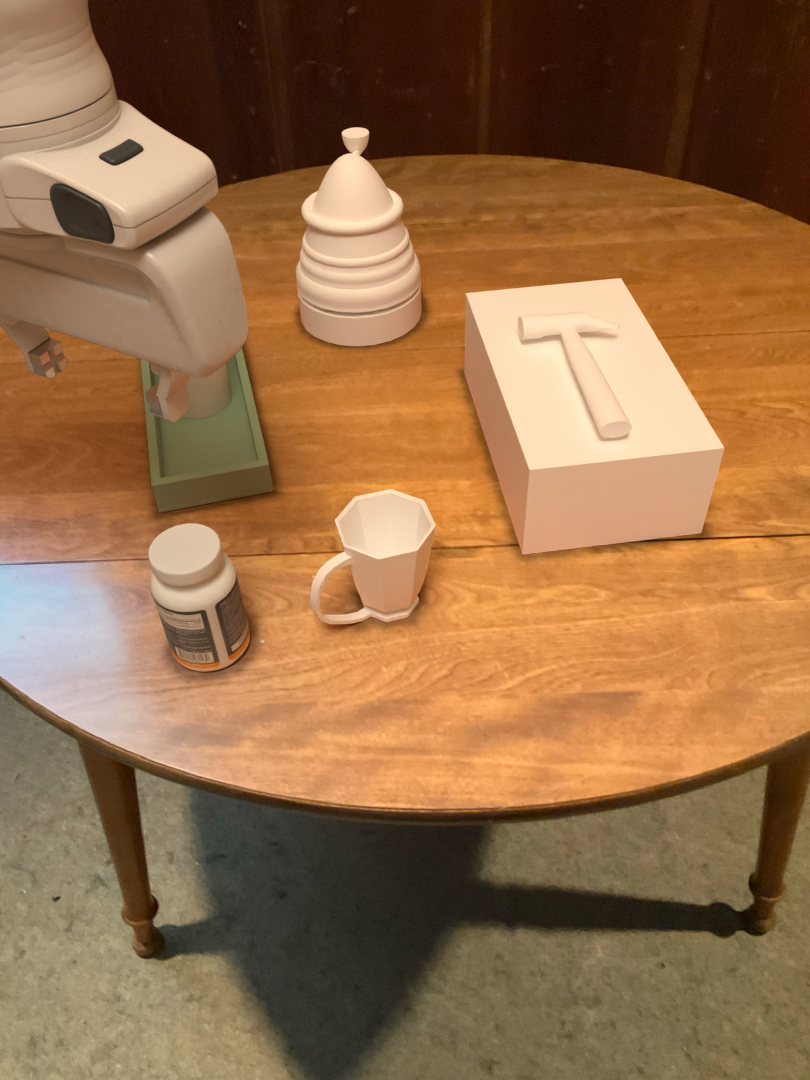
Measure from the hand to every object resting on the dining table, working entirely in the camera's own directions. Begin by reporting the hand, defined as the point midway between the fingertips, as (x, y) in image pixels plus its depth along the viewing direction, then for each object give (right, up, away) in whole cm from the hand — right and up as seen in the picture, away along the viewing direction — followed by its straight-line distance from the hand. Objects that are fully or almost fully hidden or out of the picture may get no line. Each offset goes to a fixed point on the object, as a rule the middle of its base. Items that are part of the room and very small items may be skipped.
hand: (108, 391), depth 54 cm
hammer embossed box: (+32, 0, +27) cm, 42 cm away
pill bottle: (+3, -16, +12) cm, 21 cm away
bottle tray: (-1, +3, +32) cm, 32 cm away
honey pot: (+13, +15, +44) cm, 48 cm away
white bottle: (-2, +4, +33) cm, 33 cm away
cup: (+15, -14, +14) cm, 25 cm away
